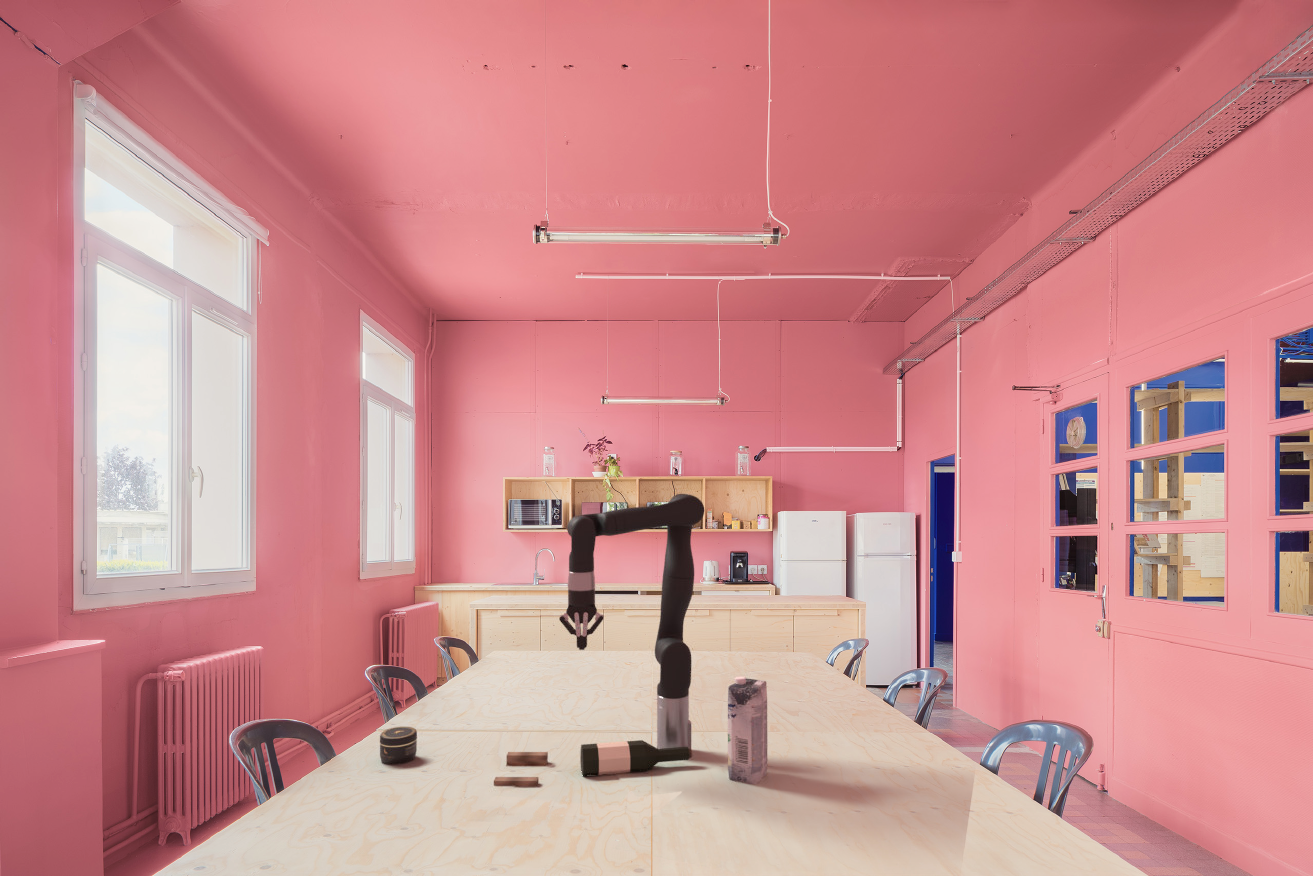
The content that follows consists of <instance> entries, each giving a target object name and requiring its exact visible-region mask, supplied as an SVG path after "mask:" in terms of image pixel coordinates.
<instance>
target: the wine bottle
mask: <svg viewBox="0 0 1313 876" xmlns="http://www.w3.org/2000/svg"><path fill="white" fill-rule="evenodd" d="M579 753H580V755H579V756H580V762H579V763H580V772H581V771H582V772H581V775H583V776H582V777H588V776H587V775H596V776H603V775H602V774H611V775H615V774H625V773H640V772H641V773H642V772H647V771H649V770H651V769H652V768H653V767H654V766H656V765H657V764H659V763H666V762H679V761H689V759H691V758H692V757H693V752H692V747H691V748H688V747H675V748H661V749H657V747H656V746H654V745H651V744H650V743H648V742H646V741H644V740H643V739H641V740H638V739H637V740H627V741H614V742H613V741H611V742H600V743H586V744H581V745H580V752H579Z"/></svg>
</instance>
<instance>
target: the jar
mask: <svg viewBox="0 0 1313 876" xmlns="http://www.w3.org/2000/svg"><path fill="white" fill-rule="evenodd" d="M417 734H418V731H417V729H416V728H415V727H411V726H395V727H391V728H388V729H385V730H383V731H381V733H380V735H379V757H380V760H381V763H384V764H386V765H402V764H406V763H409V762H412V761H413V760H415V758H416V756H417V755H416V754H417V749H418V747H417V744H418V735H417Z"/></svg>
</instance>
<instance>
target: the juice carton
mask: <svg viewBox="0 0 1313 876" xmlns="http://www.w3.org/2000/svg"><path fill="white" fill-rule="evenodd" d="M767 687H768V686H767V681H766V680H760V679H753V678H747V677H746V676H741V675H740V676H735V677H734V683H733V684H730V685H729V686H728V687H727V688H728V689H727V691H728V693H727V769H728V771H727V772H728V773H727V774H728V779H729V780H730V781H732V782H740V783H746V784H752V785H753V784H754V785H755V784H759V783H760V782H761V780H762V779H763V778H764V777H766V775H767V771H768V691H767Z"/></svg>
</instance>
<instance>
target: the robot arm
mask: <svg viewBox="0 0 1313 876" xmlns="http://www.w3.org/2000/svg"><path fill="white" fill-rule="evenodd" d="M704 515H705V507H704V504H703V502H702V500H701V499H700V498H699V497H697V496H695V495H693V494H688V493H677V494H675V495H673V496H672V497H671V498H670V500H669V502H667V503H663V504H656V505H650V506H636V507H626V508H620V509H614V510H609V511H604V512H596V513H587V514H586V513H585V514H580V515H575V516H573V517H572V518H570V520H569V521H568V523H567V527H566V530H567V534H568V535H569V537H570V538H571V542H570V543H571V544H570V546H571V548H570V549H571V550H570V553H569V555H568V556H569V557H568V579H567V594H568V596H567V598H568V599H567V607H566V608H567V609H566V612H565V613H564V614H561V615H560V616H559V621H560V623H561V624H562V626H564V628H565V629H566V630H567V632H568V633H569V635H574V636H576V647H577V649H578V650H580V651H585V649H587V646H588V636H589V635H592V634H594V633H595V631H596V629H598V627H599V626H600V625H601V623H602V622H603V620H604V618H605V617H604V614H601V613H600V612H598V609H597V606H596V581H595V579H596V577H595V557H594V554H595V553H594V552H595V547H596V539H597V538H596V537H600V536H609V537H612V536H616V535H618V536H619V535H623V534H628V533H633V532H638V531H643V530H648V529H654V528H660V527H666V528H667V529H666V530H667V531H666V532H667V533H666V534H667V538H666V547H665V554H664V565H663V571H662V582H661V597H660V598H661V600H660V615H659V616H660V618H659V625H658V630H657V635H656V640H655V646H654V657H655V659H656V661H657V663H658V664H659V665H660V670H659V671H660V673H659V674H660V678H659V682H658V683H657V687H656V693H657V694H656V722H657V723H656V748H657V749H661V748H675V747H688V748H691V749H692V721H691V720H690V718H689V717H690V711H689V709H690V708H689V707H690V704H689V703H690V700H689V699H690V698H689V697H690V691H689V690H690V686H691V683H692V654H691V652H692V651H691V649H690V647H689V646H688V645H687V644H686V643H685V642H684V621H685V617H686V614H687V611H688V608H689V606H690V603H691V600H692V597H693V594H694V593H693V592H694V587H695V586H694V584H695V564H694V558H693V551H692V545H691V544H692V543H691V537H692V529H693V526H695V525H696V524H698V523H699V522H700V521H701V520H702V519H703V518H704ZM569 619H570V620H571V621H572V623H573V624H575V628H574V627H573V625H572V624H571V622H570V621H569ZM593 619H594V623H593V624H592V625H591V627H590V628H589V629H588V626H589V623H591V621H592V620H593ZM581 626H582V627H581Z"/></svg>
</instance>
